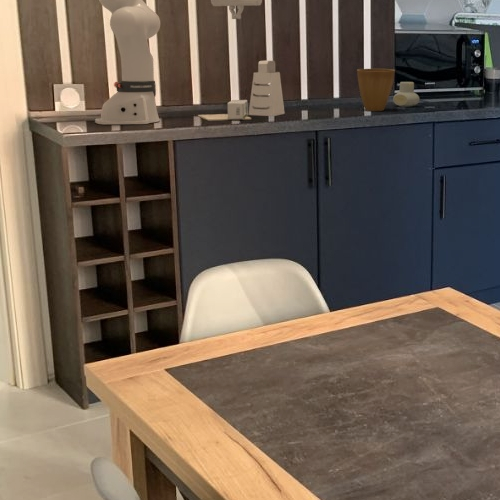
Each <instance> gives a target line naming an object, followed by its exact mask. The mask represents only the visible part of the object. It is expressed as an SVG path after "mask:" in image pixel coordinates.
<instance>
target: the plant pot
mask: <svg viewBox="0 0 500 500" xmlns="http://www.w3.org/2000/svg"><path fill="white" fill-rule="evenodd" d="M395 73H396V69H389V68H358V69H356V74H357V81H358V88H359V94H360V98H361V100H362V101H361V102H362V104H363V108H364V110H365V111H369V112H382V111H384V110H385V108H386V105H387V104H388V100H389V97H390V95H391V91H392V87H393V83H394V78H395Z"/></svg>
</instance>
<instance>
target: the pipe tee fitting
mask: <svg viewBox="0 0 500 500" xmlns="http://www.w3.org/2000/svg"><path fill="white" fill-rule="evenodd" d="M414 89H415V82H413V81H400V83H399V92H397V93H396V94H394V96H393V98H392V101H393V103H394V104H395V105H397V106H398V107H399V108H411V107H414V106H417V105H418V104H419V103H420V96H419V95H418V94H417V93H416V92H415V90H414Z"/></svg>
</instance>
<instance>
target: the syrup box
mask: <svg viewBox="0 0 500 500" xmlns="http://www.w3.org/2000/svg"><path fill="white" fill-rule="evenodd" d="M227 114H228V119H244V118H245V117H246V116H247V117H248V116H249V115H248V114H249V107H248V100H247V99H232V100H230V101H229V102H227ZM244 120H245V119H244Z"/></svg>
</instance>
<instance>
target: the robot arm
mask: <svg viewBox="0 0 500 500" xmlns="http://www.w3.org/2000/svg"><path fill="white" fill-rule="evenodd" d="M98 1H99V3H100V4H101V5H102V6H103V7H104V8H105V9H107V11H109V12H110V13H111V16H110V19H109V26H110V30H111V31H112V34H114V36H115V39H116V43H117V47H118V51H119V55H120V63H121V65H120V67H121V80H120V81H115V82H114V83H113V86H114V88H116V91H117V92H116V93H114V94H113V95H112V96H110V98H108V99H107V100H106V101H105V102H104V103H103V105H102V106H101V111H100V112H101V113H100V116H101V117H97V118H95V119H94V123H96V124H98V125H147V124H151V123H156V122H160V118H159V114H158V109H157V103H156V94H157V89H156V88H157V87H156V86H157V84H156V80H155V72H154V58H153V55H152V53H151V50H150V48H149V42H148V40H149V39H151V38H153V37H155V36H156V35H157V34H158V32H159V31H160V27H161V19H160V17H159V15H158V14H157V13H156V12H155V11H154V10H153V9H151V8H150V7H149V5H147V3H145V1H144V0H98ZM210 3H211V5H212V6H213V7H228V10H229V12H230V14H231V20H241V19H242V13H243V11H244V8H245V6H261V5H262V3H263V0H210ZM236 7H237V9H238V10H237V13H236V11H235V10H236Z"/></svg>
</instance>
